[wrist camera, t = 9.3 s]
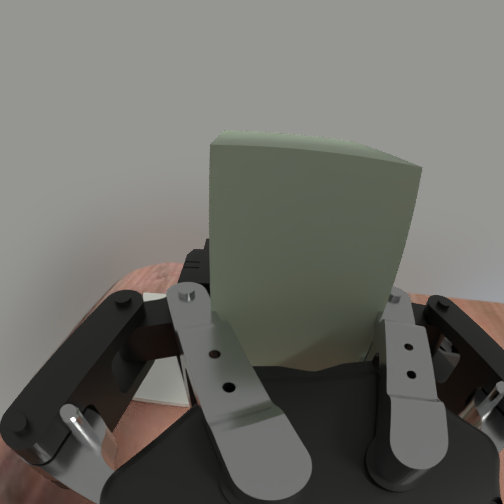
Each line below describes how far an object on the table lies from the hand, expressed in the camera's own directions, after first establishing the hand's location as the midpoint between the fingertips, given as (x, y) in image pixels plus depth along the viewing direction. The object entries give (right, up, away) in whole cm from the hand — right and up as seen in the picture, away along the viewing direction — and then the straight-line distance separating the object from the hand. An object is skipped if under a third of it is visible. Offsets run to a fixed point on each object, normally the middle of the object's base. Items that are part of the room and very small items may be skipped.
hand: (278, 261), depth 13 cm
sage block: (0, -7, +1) cm, 7 cm away
